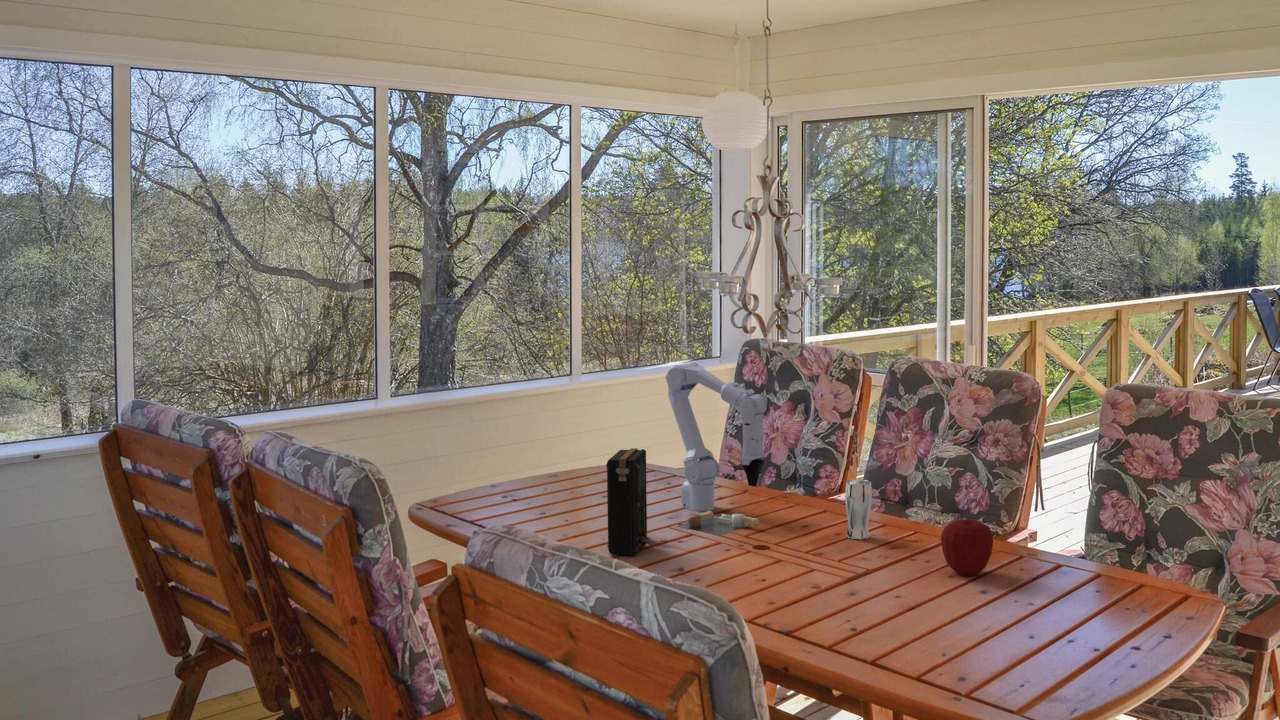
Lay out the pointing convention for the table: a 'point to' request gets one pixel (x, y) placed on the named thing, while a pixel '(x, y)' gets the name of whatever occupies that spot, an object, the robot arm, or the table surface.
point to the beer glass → (858, 507)
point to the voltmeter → (627, 501)
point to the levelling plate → (713, 527)
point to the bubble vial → (725, 519)
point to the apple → (967, 546)
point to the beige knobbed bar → (698, 519)
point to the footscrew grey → (743, 520)
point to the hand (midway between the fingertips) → (752, 485)
